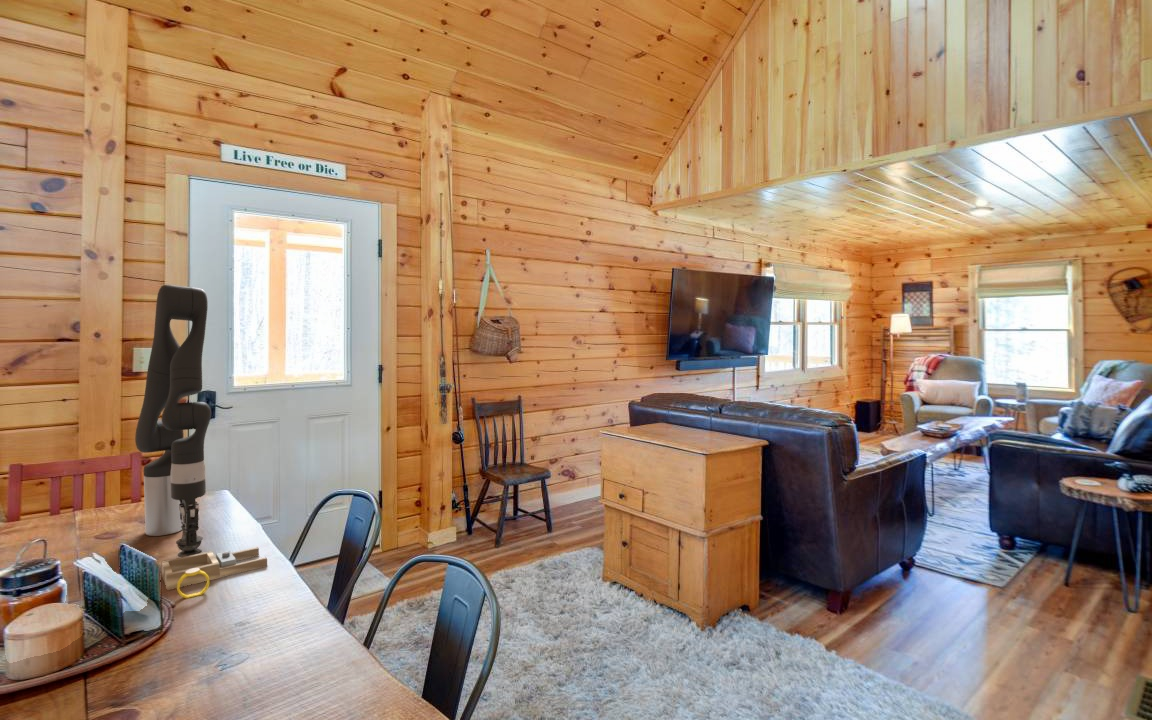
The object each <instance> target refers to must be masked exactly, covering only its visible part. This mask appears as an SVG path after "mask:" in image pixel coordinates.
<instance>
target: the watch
mask: <svg viewBox="0 0 1152 720" xmlns="http://www.w3.org/2000/svg"><path fill="white" fill-rule="evenodd" d="M198 573H199V574H203V575H204V576H205V577H206V578H207V581H206V583H205V586H204V587H203V589H201V591H199V592H194V593H189V594H185V593H183V592H182V591H181V589H180V588H181V587H180V584H181V582H182V580H183V579H184V578H185V577H187V576H193V575H196V574H198ZM209 586H210V580H209V577H208V575H207V574H206V573H205V572H204V571H201V570H200V569H199V568H192V569H189V570H187V571H186V572H185V574H184V575H183V576H182V577H181V578H180V579H179V581H178V583H177V588H176V590H177V593H178V594H179V596H180V597H182V598H185V599H190V597H191V598H194V597H199V596H202V595H204V593H205V592H206V591H207V590H208V588H209Z"/></svg>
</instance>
